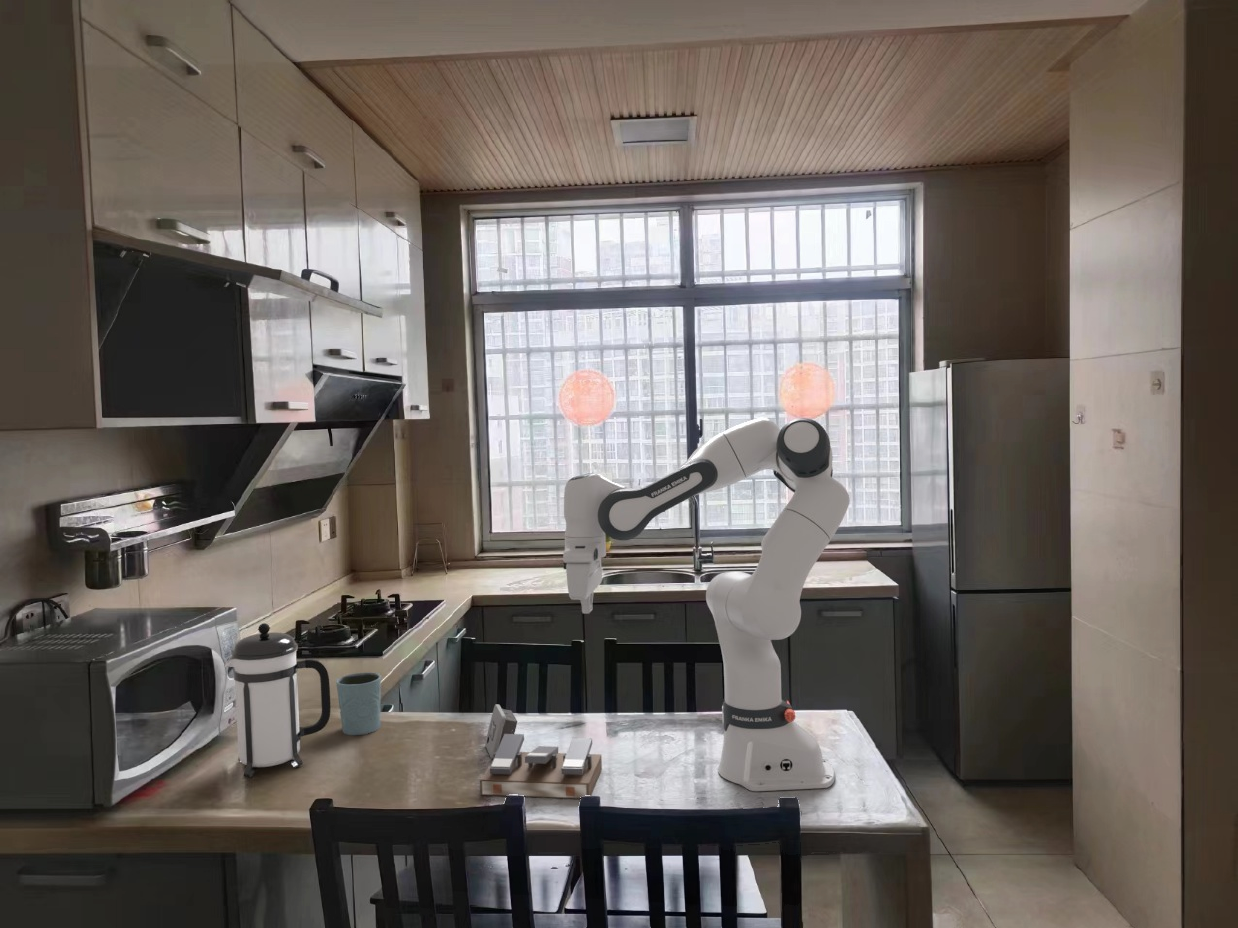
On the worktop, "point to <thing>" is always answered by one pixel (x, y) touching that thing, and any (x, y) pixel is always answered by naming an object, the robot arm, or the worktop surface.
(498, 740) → the electrical switch
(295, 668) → the coffee press
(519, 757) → the switch unit
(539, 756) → the rocker middle
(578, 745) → the rocker
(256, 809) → the worktop surface
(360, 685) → the blue embossed cup
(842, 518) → the robot arm
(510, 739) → the rocker
